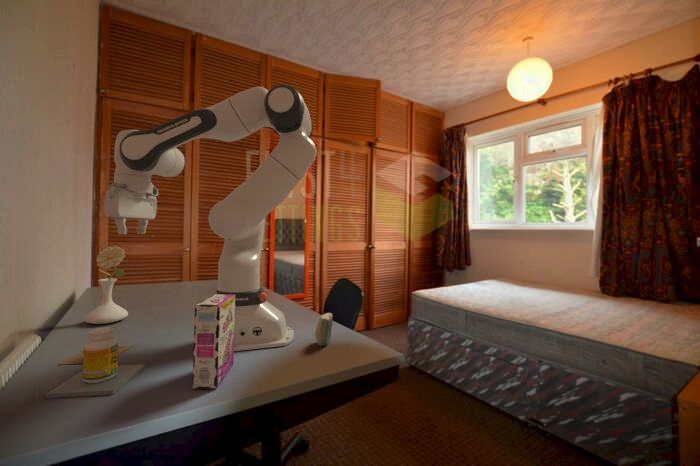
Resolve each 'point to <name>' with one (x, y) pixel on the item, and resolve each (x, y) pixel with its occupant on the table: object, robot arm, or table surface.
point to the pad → (96, 384)
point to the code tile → (80, 356)
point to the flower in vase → (108, 289)
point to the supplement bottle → (100, 355)
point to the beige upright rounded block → (324, 329)
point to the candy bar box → (213, 340)
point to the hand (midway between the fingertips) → (132, 234)
